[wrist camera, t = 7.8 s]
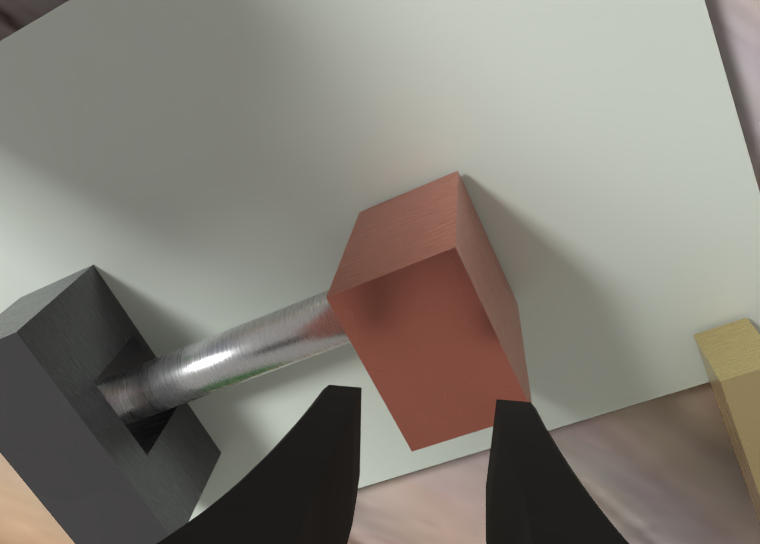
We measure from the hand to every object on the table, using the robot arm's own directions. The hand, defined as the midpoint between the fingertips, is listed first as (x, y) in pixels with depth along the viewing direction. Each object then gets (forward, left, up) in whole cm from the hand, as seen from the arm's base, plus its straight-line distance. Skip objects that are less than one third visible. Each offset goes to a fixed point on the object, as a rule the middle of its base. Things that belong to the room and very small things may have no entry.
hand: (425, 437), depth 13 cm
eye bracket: (0, -12, -8) cm, 14 cm away
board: (-2, -4, -9) cm, 10 cm away
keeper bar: (+9, +6, -8) cm, 14 cm away
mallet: (0, -7, -8) cm, 11 cm away
